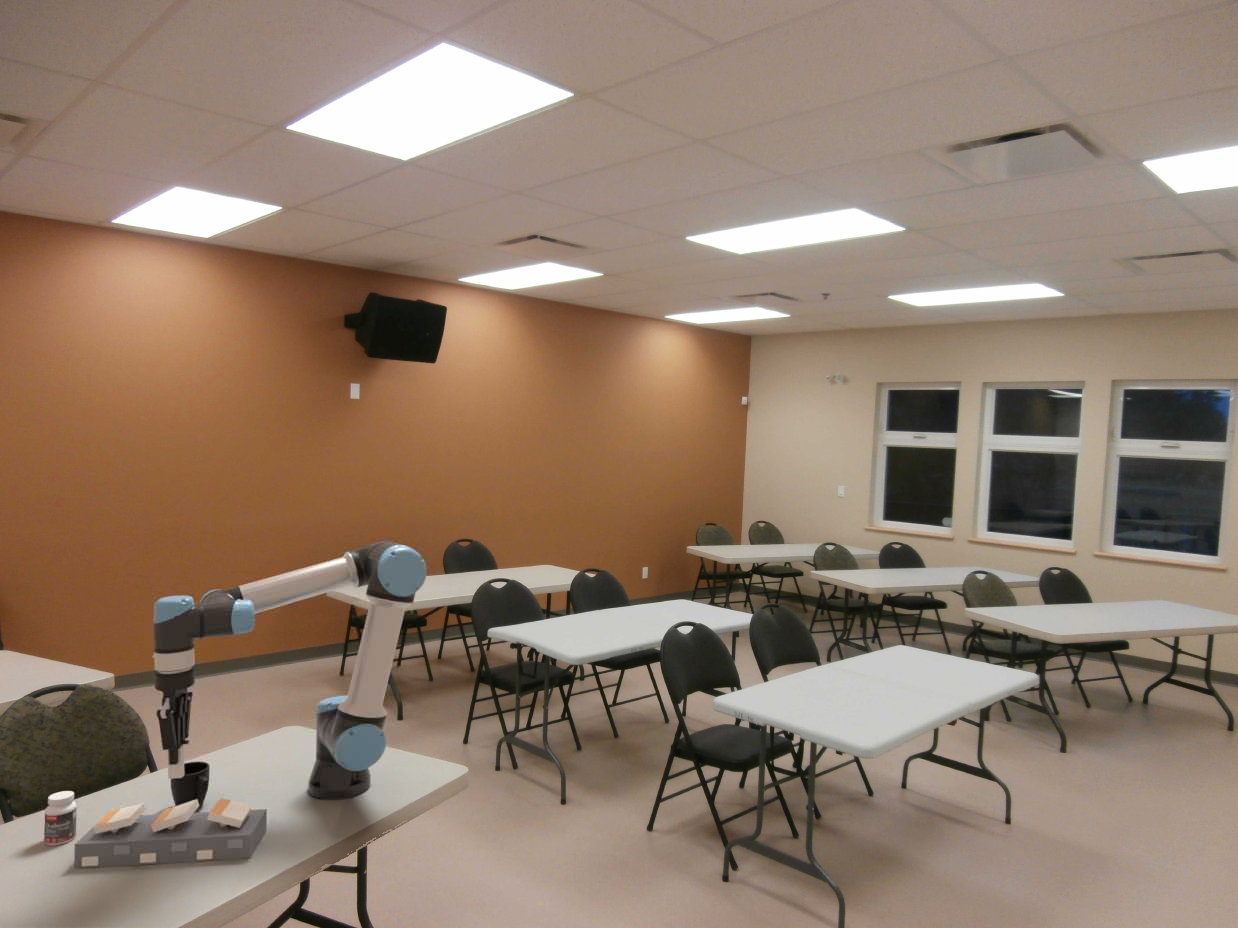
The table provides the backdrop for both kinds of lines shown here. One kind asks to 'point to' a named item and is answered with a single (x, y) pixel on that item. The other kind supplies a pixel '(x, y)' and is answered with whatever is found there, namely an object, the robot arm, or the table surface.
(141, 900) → the table surface
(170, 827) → the switch
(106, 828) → the switch
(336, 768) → the robot arm
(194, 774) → the mug
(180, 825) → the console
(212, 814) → the switch
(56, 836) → the pill bottle
